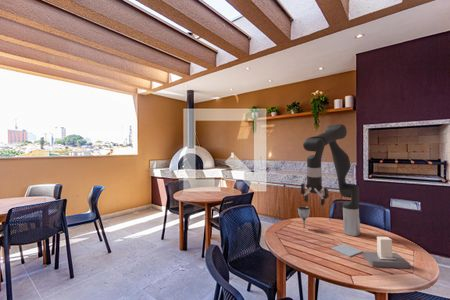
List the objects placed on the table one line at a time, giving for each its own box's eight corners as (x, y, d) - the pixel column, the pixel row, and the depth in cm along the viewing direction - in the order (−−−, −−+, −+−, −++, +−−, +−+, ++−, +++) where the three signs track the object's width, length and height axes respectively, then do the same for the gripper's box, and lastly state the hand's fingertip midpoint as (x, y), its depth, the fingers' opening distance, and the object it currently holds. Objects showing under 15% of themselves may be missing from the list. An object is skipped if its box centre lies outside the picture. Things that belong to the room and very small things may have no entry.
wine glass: (309, 227, 159) (309, 206, 159) (310, 231, 152) (309, 209, 151) (298, 226, 162) (297, 206, 162) (298, 230, 154) (297, 209, 154)
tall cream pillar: (388, 260, 110) (387, 236, 110) (392, 264, 107) (391, 239, 107) (377, 260, 111) (376, 236, 111) (381, 263, 108) (380, 239, 107)
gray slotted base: (396, 257, 112) (396, 251, 112) (409, 268, 103) (409, 261, 103) (362, 256, 115) (362, 250, 115) (372, 266, 105) (372, 259, 105)
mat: (344, 244, 129) (343, 243, 129) (362, 252, 119) (362, 251, 119) (331, 248, 125) (331, 247, 125) (349, 257, 115) (349, 256, 115)
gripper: (330, 175, 116) (330, 204, 118) (304, 171, 125) (304, 198, 128) (325, 178, 110) (325, 208, 112) (298, 174, 120) (299, 202, 122)
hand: (314, 203), depth 120 cm, fingers open, 8 cm apart
